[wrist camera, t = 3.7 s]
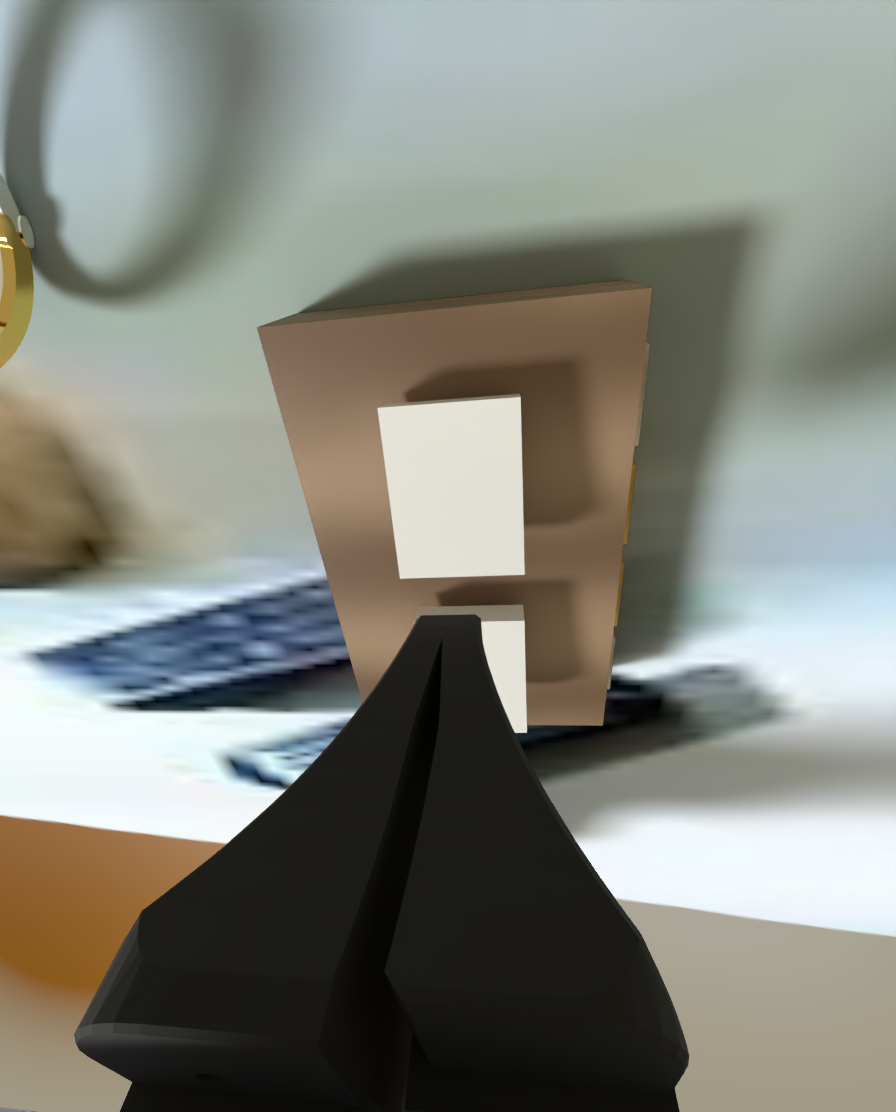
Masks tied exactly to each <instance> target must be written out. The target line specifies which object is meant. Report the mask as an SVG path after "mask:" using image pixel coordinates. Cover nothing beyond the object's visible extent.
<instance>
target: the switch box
mask: <svg viewBox="0 0 896 1112" xmlns="http://www.w3.org/2000/svg"><path fill="white" fill-rule="evenodd" d="M651 296H652V288H651V287H648V286H644V285H641V284H637V283H634V282H630V281H627V280H618V281H608V282H598V283H589V284H579V285H569V286H559V287H550V288H540V289H530V290H521V291H511V292H501V293H491V294H482V295H472V296H462V297H453V298H443V299H433V300H423V301H414V302H404V303H394V304H384V305H375V306H365V307H355V308H346V309H336V310H326V311H316V312H307V313H297V314H294V315H291V316H288V317H285V318H282V319H279V320H277V321H274V322H271V323H268V324H265V325H262V326H260V327H257V329H258V333H259V336H260V340H261V344H262V347H263V351H264V354H265V358H266V361H267V365H268V368H269V372H270V375H271V379H272V383H273V386H274V390H275V393H276V397H277V400H278V404H279V407H280V411H281V414H282V418H283V422H284V425H285V429H286V432H287V436H288V439H289V443H290V446H291V450H292V453H293V457H294V461H295V464H296V468H297V471H298V475H299V478H300V482H301V485H302V489H303V492H304V496H305V500H306V503H307V507H308V510H309V514H310V517H311V521H312V524H313V528H314V531H315V535H316V539H317V542H318V546H319V549H320V553H321V556H322V560H323V563H324V567H325V570H326V574H327V578H328V581H329V585H330V588H331V592H332V595H333V599H334V602H335V606H336V609H337V613H338V617H339V620H340V624H341V627H342V631H343V634H344V638H345V641H346V645H347V648H348V652H349V656H350V659H351V663H352V666H353V670H354V673H355V677H356V680H357V684H358V687H359V691H360V694H361V698H362V702H364V701H365V700H366V698H367V697H368V696H369V694H370V693H371V692H372V690H373V689H374V688H375V686H376V685H377V683H378V682H379V680H380V679H381V677H382V676H383V674H384V673H385V671H386V670H387V668H388V667H389V666H390V664H391V663H392V661H393V660H394V658H395V656H396V655H397V653H398V651H399V650H400V648H401V647H402V645H403V643H404V642H405V640H406V638H407V637H408V635H409V633H410V631H411V629H412V628H413V626H414V621H415V618H416V614H417V611H418V607H441V606H483V605H523V609H524V622H525V667H526V713H527V725H603V719H604V710H605V701H606V692H607V689H610V682H611V673H612V665H613V656H614V648H615V639H616V638H615V634H614V626H617V622H618V614H619V605H620V597H621V588H622V580H623V572H624V562H623V559H622V551H623V544H627V538H628V529H629V521H630V512H631V504H632V495H633V487H634V478H635V470H636V464H635V463H634V461H633V454H634V446H638V444H639V436H640V427H641V419H642V410H643V402H644V393H645V385H646V376H647V368H648V360H649V351H650V344H649V343H647V342H646V340H647V331H648V322H649V313H650V305H651ZM509 394H520V397H521V434H522V478H523V522H524V566H525V575H502V576H470V577H438V578H406V579H400V576H399V568H398V561H397V553H396V545H395V538H394V530H393V523H392V515H391V507H390V500H389V492H388V485H387V477H386V470H385V462H384V454H383V447H382V439H381V432H380V424H379V416H378V409H377V408H378V407H380V406H383V405H385V404H392V403H405V402H418V401H431V400H444V399H457V398H470V397H483V396H496V395H509Z"/></svg>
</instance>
